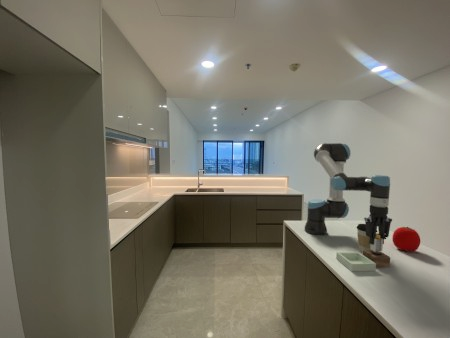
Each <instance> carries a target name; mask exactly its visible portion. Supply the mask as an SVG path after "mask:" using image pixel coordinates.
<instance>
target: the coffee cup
mask: <svg viewBox="0 0 450 338" xmlns="http://www.w3.org/2000/svg"><path fill="white" fill-rule="evenodd" d="M356 229H357V243H358V244H357V245H358V252H360V253H363V250H371V249H370V245H371V244H370V237H368V236H366V224H365V223H358V224H357V226H356ZM376 233H378V230H377V231H376Z"/></svg>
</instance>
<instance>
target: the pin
mask: <svg viewBox="0 0 450 338" xmlns="http://www.w3.org/2000/svg"><path fill="white" fill-rule="evenodd" d="M380 237H381V235H380V234H379V233H378V232H376V236H375V239H377V240H376V252H374V251H373V254H374V255H376V256H377V255H379V253H380V252H381V251H380Z"/></svg>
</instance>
